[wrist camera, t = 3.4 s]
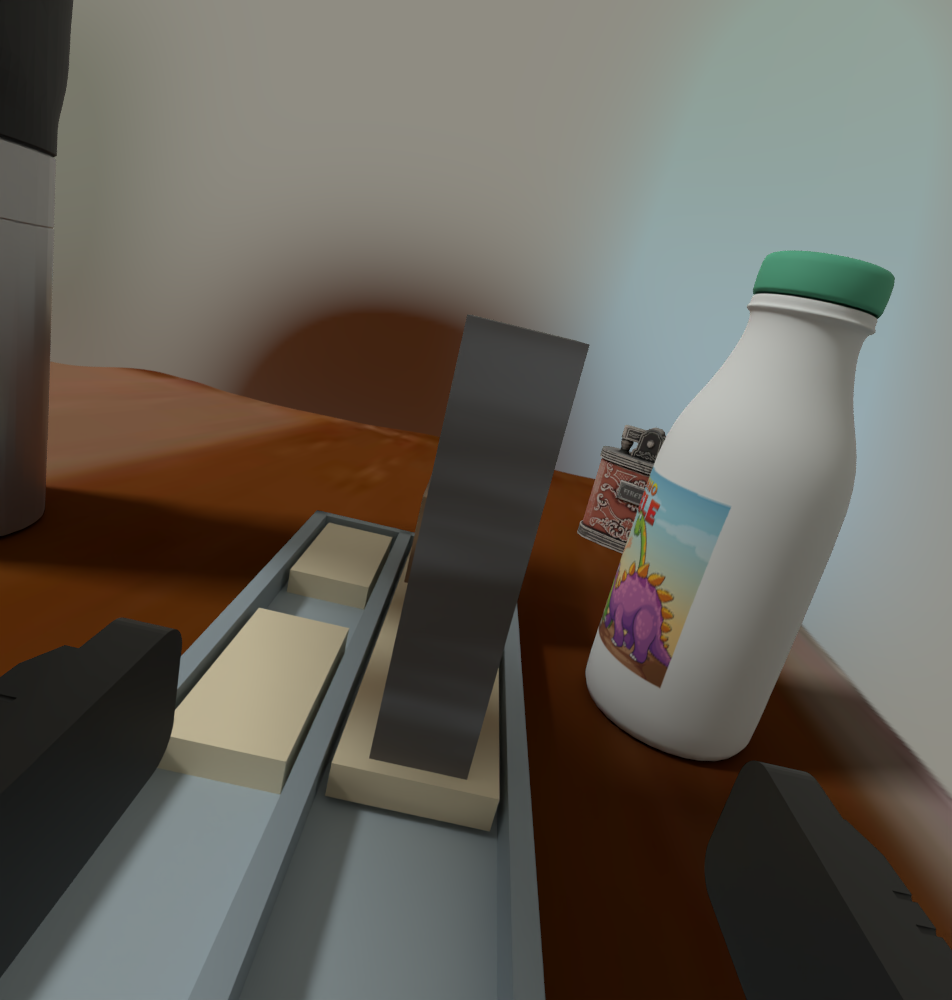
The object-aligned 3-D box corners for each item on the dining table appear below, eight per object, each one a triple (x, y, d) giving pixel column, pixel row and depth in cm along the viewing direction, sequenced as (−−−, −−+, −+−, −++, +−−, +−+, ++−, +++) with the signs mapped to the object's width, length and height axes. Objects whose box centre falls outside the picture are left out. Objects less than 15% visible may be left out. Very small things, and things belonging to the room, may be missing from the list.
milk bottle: (731, 691, 32) (896, 294, 26) (763, 794, 24) (1000, 274, 19) (586, 644, 33) (712, 255, 27) (574, 727, 26) (743, 221, 20)
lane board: (539, 1573, 8) (581, 1501, 7) (-407, 1410, 8) (-437, 1320, 7) (505, 585, 38) (513, 555, 37) (312, 540, 37) (317, 510, 37)
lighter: (572, 534, 51) (607, 416, 48) (584, 526, 54) (617, 415, 51) (668, 570, 48) (711, 447, 45) (675, 560, 51) (716, 444, 48)
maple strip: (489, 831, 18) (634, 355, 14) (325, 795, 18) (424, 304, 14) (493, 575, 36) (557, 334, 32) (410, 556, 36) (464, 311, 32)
